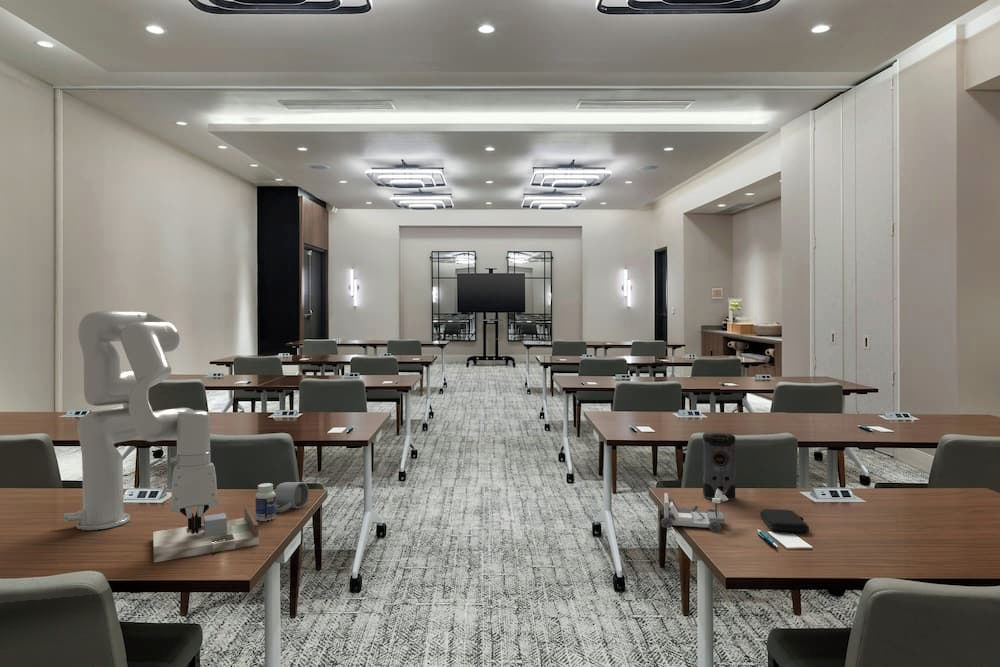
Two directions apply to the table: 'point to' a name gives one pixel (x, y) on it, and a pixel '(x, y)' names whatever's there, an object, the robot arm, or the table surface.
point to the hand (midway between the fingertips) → (194, 531)
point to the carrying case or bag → (784, 521)
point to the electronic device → (718, 464)
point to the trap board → (205, 539)
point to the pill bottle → (265, 502)
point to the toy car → (693, 514)
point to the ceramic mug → (291, 495)
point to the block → (215, 525)
